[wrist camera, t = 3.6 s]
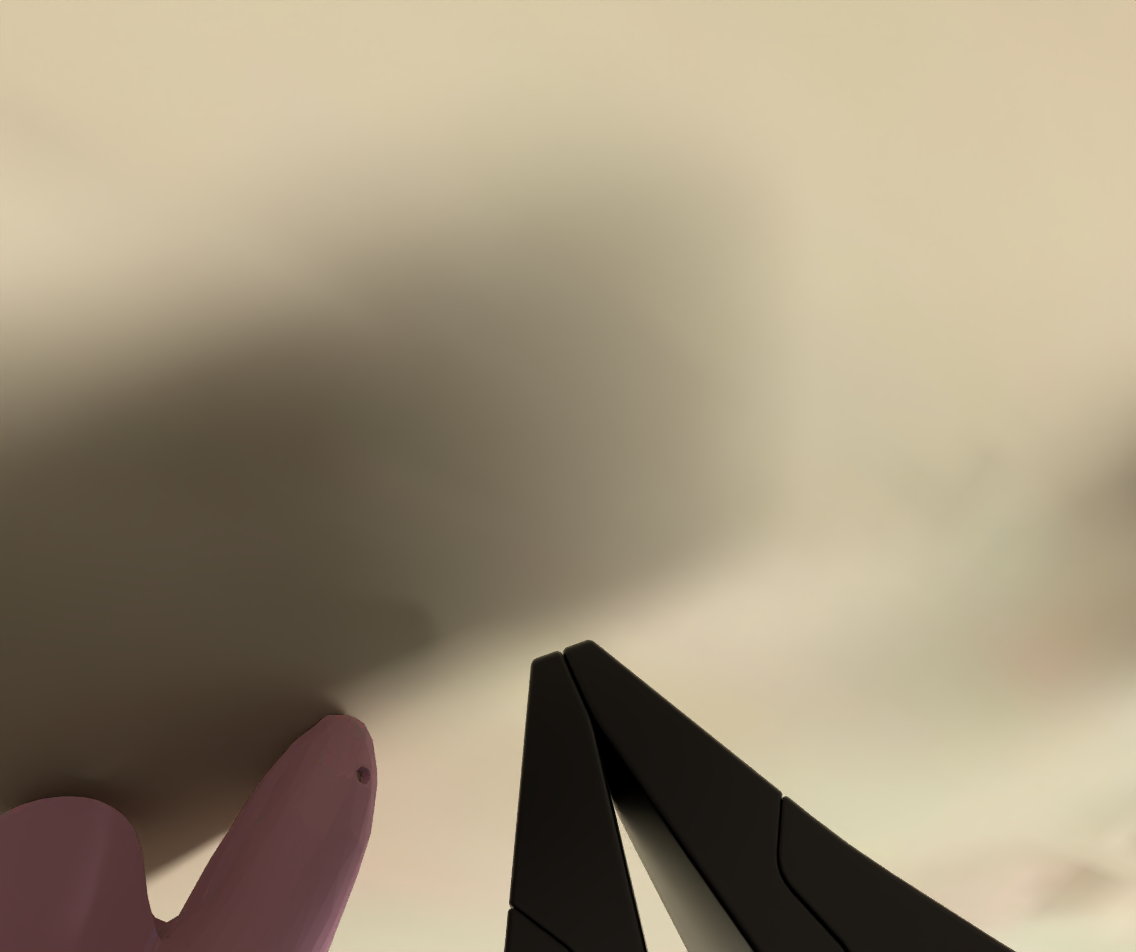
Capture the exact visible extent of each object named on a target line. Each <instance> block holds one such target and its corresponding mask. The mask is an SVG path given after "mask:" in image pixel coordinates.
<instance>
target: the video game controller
mask: <svg viewBox="0 0 1136 952" xmlns="http://www.w3.org/2000/svg"><path fill="white" fill-rule="evenodd" d="M376 790H377V767H376V760H375V753H374V746H373V740H372V738H371V736H370V734H369V732H368V730H367V728H366V726H365V724H364V723H363V722H361V721H359V720H358V719H356V718H354V717H352V716H349V715H327V716H325V717H324V718H322V719H321V720H320V721H319V722H318V723H317V724H316V725H315V726H313V727H312V728H311V729H309V730H308V731H307V732H305V733H304V734H303V735H301V736H300V737H299V738H298V739H296V740H295V741H294V742H293V743H292V744H291V745H290V746H289V747H288V749H287V750H286V751H285V752H284V753H283V755H282V756H281V757H280V758H279V759H278V760H277V762H276V763H275V764H274V765H273V766H272V767H271V769H270V770H269V771H268V772H267V773H266V774H265V776H264V777H263V778H262V779H261V780H260V782H259V783H258V785H257V786H256V788H255V790H254V791H253V793H252V794H251V796H250V797H249V799H248V801H247V802H246V804H245V805H244V807H243V808H242V810H241V812H240V813H239V815H238V816H237V818H236V819H235V821H234V823H233V824H232V826H231V827H230V829H229V830H228V832H227V834H226V835H225V837H224V838H223V840H222V841H221V843H220V845H219V846H218V848H217V849H216V851H215V852H214V854H213V856H212V857H211V859H210V860H209V862H208V864H207V866H206V867H205V869H204V871H203V873H202V875H201V876H200V878H199V880H198V882H197V884H196V885H195V887H194V889H193V891H192V892H191V894H190V896H189V898H188V900H187V901H186V903H185V905H184V907H183V909H182V910H181V912H180V914H179V916H177V917H175V918H174V919H172V920H170V921H169V922H164V921H162V920H160V919H157V918H155V917H154V915H153V914H152V913H151V908H150V904H149V900H148V895H147V887H146V879H145V871H144V863H143V855H142V848H141V846H140V843H139V840H138V838H137V835H136V832H135V830H134V828H133V826H132V825H131V824H130V822H129V821H128V820H127V818H126V817H125V816H124V815H123V814H121V813H120V812H119V811H117V810H116V809H115V808H114V807H112V806H110V805H107V804H105V803H103V802H101V801H99V800H94V799H90V798H85V797H73V796H60V797H52V798H45V799H39V800H36V801H33V802H29V803H26V804H22V805H19V806H17V807H15V808H13V809H10V810H8V811H6V812H4V813H2V814H0V952H328V950H329V948H330V945H331V943H332V940H333V937H334V935H335V932H336V930H337V927H338V924H339V922H340V919H341V917H342V914H343V911H344V909H345V906H346V904H347V901H348V898H349V896H350V893H351V890H352V888H353V885H354V883H355V880H356V877H357V875H358V872H359V869H360V865H361V862H362V859H363V856H364V853H365V850H366V847H367V843H368V840H369V837H370V834H371V827H372V821H373V813H374V806H375V798H376Z"/></svg>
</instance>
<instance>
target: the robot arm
mask: <svg viewBox="0 0 1136 952" xmlns="http://www.w3.org/2000/svg"><path fill="white" fill-rule="evenodd" d="M613 804H614V806H613ZM614 807H615V809H616V811H617V813H618V815H619V818H620V820H621V822H622V824H623V826H624V828H625V830H626V832H627V834H628V836H629V838H630V840H631V842H632V843H633V845H634V847H635V849H636V851H637V853H638V855H639V857H640V859H641V861H642V863H643V865H644V867H645V869H646V871H647V873H648V875H649V877H650V879H651V881H652V883H653V884H654V886H655V888H656V890H657V892H658V894H659V896H660V898H661V900H662V902H663V904H664V906H665V908H666V910H667V912H668V914H669V916H670V918H671V920H672V922H673V924H674V925H675V927H676V929H677V931H678V933H679V935H680V937H681V939H682V941H683V943H684V945H685V947H686V949H687V951H688V952H1015V951H1014V950H1012V949H1010V948H1009V947H1007V946H1006V945H1004V944H1002V943H1001V942H999V941H997V940H996V939H994V938H993V937H991V936H990V935H988V934H986V933H985V932H983V931H982V930H980V929H979V928H977V927H976V926H974V925H972V924H971V923H969V922H968V921H966V920H965V919H963V918H961V917H960V916H958V915H957V914H955V913H954V912H952V911H950V910H949V909H947V908H946V907H944V906H943V905H941V904H940V903H938V902H936V901H935V900H933V899H932V898H930V897H929V896H927V895H925V894H924V893H922V892H921V891H919V890H918V889H916V888H915V887H913V886H911V885H910V884H908V883H907V882H905V881H904V880H902V879H900V878H899V877H897V876H896V875H894V874H893V873H891V872H890V871H888V870H887V869H885V868H884V867H882V866H881V865H879V864H878V863H876V862H875V861H873V860H872V859H870V858H869V857H867V856H866V855H864V854H863V853H861V852H860V851H858V850H857V849H855V848H854V847H853V846H851V845H850V844H848V843H847V842H846V841H844V840H843V839H842V838H840V837H839V836H838V835H836V834H835V833H834V832H832V831H831V830H830V829H828V828H827V827H826V826H824V825H823V824H822V823H820V822H819V821H818V820H816V819H815V818H814V817H812V816H811V815H810V814H809V813H807V812H806V811H805V810H804V809H802V808H801V807H800V806H799V805H797V804H796V803H795V802H794V801H793V800H791V799H790V798H789V797H787V796H785V797H783V798H782V792H781V791H780V790H778V789H777V788H776V787H775V786H773V785H772V784H771V783H770V782H768V781H767V780H766V779H765V778H763V777H762V776H761V775H760V774H758V773H757V772H756V771H755V770H753V769H752V768H751V767H750V766H748V765H747V764H746V763H745V762H743V761H742V760H741V759H740V758H738V757H737V756H736V755H735V754H733V753H732V752H731V751H730V750H729V749H727V748H726V747H725V746H724V745H722V744H721V743H720V742H719V741H717V740H716V739H715V738H714V737H712V736H711V735H710V734H709V733H707V732H706V731H705V730H704V729H702V728H701V727H700V726H699V725H697V724H696V723H695V722H694V721H692V720H691V719H690V718H689V717H687V716H686V715H685V714H684V713H682V712H681V711H680V710H679V709H677V708H676V707H675V706H674V705H672V704H671V703H670V702H669V701H667V700H666V699H665V698H664V697H662V696H661V695H660V694H659V693H657V692H656V691H655V690H654V689H652V688H651V687H650V686H649V685H647V684H646V683H645V682H644V681H643V680H641V679H640V678H639V677H638V676H636V675H635V674H634V673H633V672H631V671H630V670H629V669H628V668H626V667H625V666H624V665H623V664H621V663H620V662H619V661H618V660H616V659H615V658H614V657H613V656H611V655H610V654H609V653H608V652H606V651H605V650H604V649H603V648H601V647H600V646H599V645H598V644H596V643H595V642H593V641H591V640H586V641H583V642H580V643H578V644H575V645H572V646H569V647H567V648H565V649H564V651H563V654H562V653H561V652H559V651H555V652H553V653H550V654H547V655H544V656H541V657H539V658H536V659H534V660H533V661H532V664H531V670H530V681H529V692H528V703H527V714H526V725H525V736H524V747H523V758H522V769H521V779H520V790H519V801H518V812H517V823H516V834H515V845H514V856H513V867H512V878H511V889H510V899H509V905H510V907H511V909H509V911H508V917H507V928H506V939H505V948H504V952H648V949H647V945H646V941H645V936H644V932H643V928H642V924H641V920H640V915H639V911H638V907H637V903H636V898H635V894H634V890H633V886H632V882H631V877H630V873H629V869H628V865H627V860H626V856H625V852H624V848H623V844H622V839H621V835H620V831H619V827H618V822H617V818H616V814H615V810H614Z"/></svg>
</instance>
